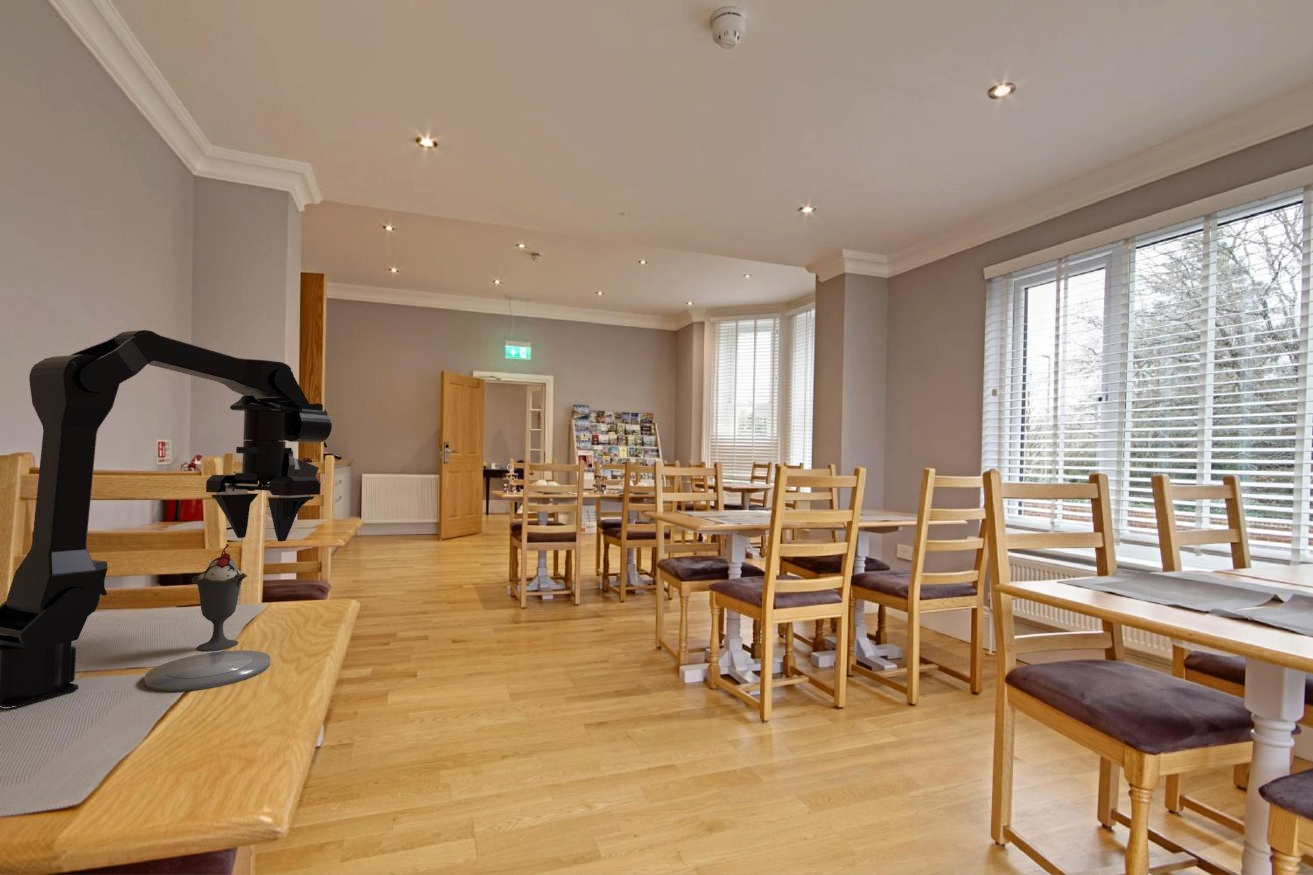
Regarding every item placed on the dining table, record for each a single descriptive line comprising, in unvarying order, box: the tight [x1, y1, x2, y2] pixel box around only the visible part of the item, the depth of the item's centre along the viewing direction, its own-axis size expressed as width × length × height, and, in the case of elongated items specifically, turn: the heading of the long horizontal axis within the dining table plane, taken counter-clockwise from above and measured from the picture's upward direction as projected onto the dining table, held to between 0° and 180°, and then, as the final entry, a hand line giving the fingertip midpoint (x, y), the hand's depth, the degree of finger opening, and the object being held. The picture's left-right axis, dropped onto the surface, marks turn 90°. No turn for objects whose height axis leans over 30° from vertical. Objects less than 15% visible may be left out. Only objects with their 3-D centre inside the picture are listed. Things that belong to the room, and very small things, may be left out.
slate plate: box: [144, 649, 271, 692], centre depth 80 cm, size 13×13×1 cm
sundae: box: [191, 543, 248, 652], centre depth 91 cm, size 7×7×15 cm
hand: (261, 539), depth 98 cm, fingers open, 9 cm apart
